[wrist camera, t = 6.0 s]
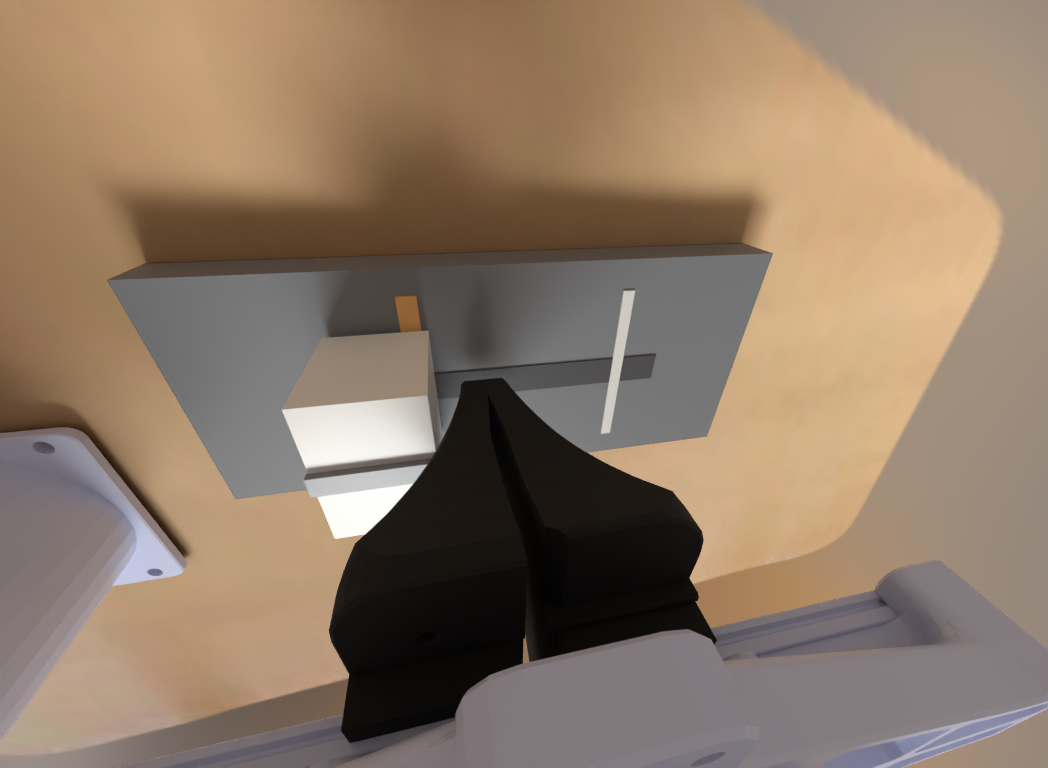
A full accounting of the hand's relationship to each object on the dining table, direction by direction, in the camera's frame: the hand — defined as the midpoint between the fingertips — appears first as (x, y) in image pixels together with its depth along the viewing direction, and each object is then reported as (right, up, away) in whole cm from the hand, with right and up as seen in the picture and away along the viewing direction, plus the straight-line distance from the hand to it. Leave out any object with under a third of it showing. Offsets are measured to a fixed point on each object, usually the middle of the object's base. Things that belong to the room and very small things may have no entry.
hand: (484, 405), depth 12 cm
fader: (-3, 0, 0) cm, 3 cm away
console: (0, +2, +2) cm, 3 cm away
